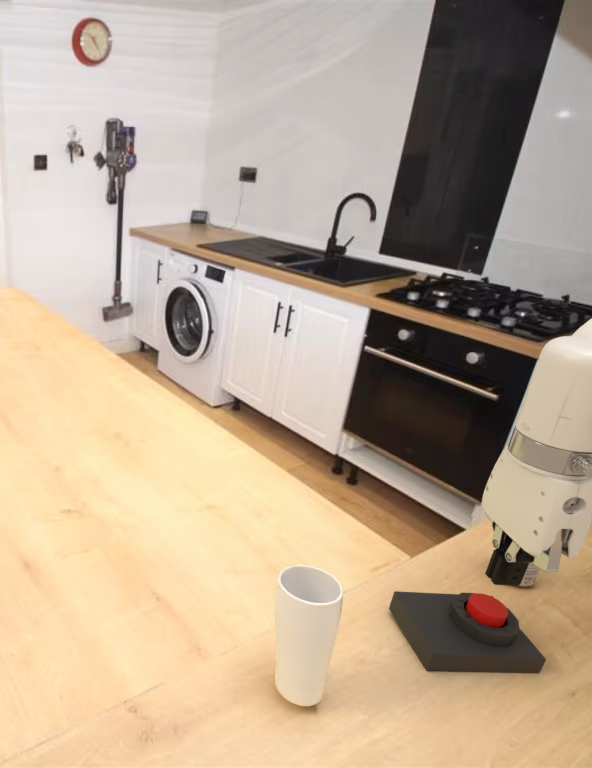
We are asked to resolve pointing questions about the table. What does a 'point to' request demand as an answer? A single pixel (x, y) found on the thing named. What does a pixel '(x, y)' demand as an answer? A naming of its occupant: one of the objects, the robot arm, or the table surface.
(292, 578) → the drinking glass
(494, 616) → the power button
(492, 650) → the power button base
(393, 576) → the table surface
